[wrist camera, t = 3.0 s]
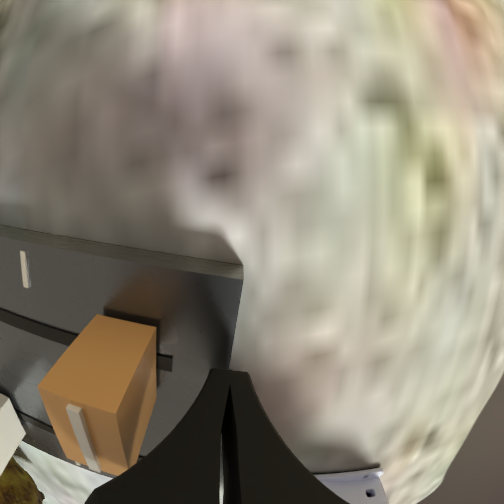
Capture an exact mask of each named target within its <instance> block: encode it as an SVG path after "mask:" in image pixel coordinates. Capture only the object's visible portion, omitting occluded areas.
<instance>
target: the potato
mask: <svg viewBox="0 0 504 504" xmlns="http://www.w3.org/2000/svg"><path fill="white" fill-rule="evenodd" d="M44 497H45V496H44V494H43V493H42V492H40V491H39V490H38V489H37V486H36V484H35V482H34V481H33V479H32V477H31V476H30V475H29V474H28V473H27V472H26V471H25V470H24V469H23V468H22V467H21V466H20V465H19V464H18V463H17V462H16V461H15V459H14V458H13V456H12V457H11V459H10V460H9V462H8V464H7V465H6V467H5V469H4V471H3V472H2V474H1V476H0V504H42V500H43V499H45V498H44Z"/></svg>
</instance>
